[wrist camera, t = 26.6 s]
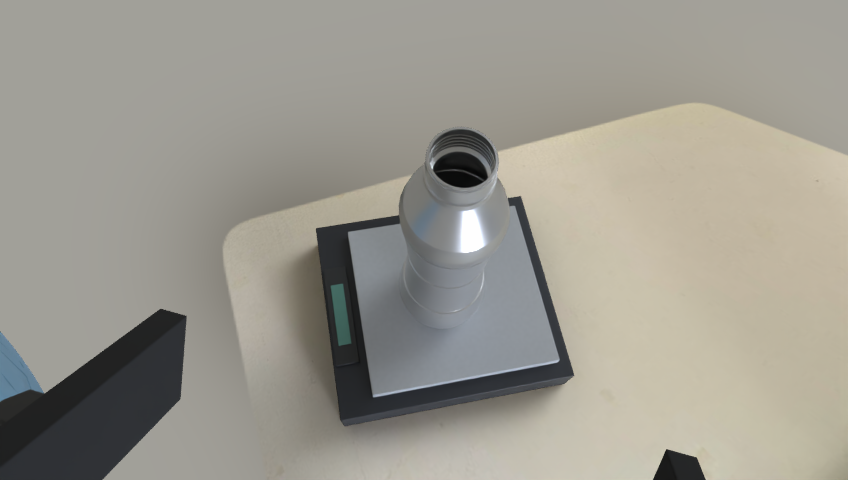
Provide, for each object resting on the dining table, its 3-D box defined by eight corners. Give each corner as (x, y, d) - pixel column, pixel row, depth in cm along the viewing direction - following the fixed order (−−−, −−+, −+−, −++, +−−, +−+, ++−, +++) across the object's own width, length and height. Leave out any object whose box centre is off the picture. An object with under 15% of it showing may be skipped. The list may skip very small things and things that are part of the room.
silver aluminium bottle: (472, 252, 48) (513, 95, 30) (487, 331, 46) (542, 211, 28) (394, 261, 48) (388, 107, 30) (405, 342, 45) (405, 226, 27)
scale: (344, 426, 46) (339, 419, 43) (320, 243, 53) (314, 223, 49) (564, 383, 48) (577, 373, 44) (515, 211, 55) (522, 191, 51)
